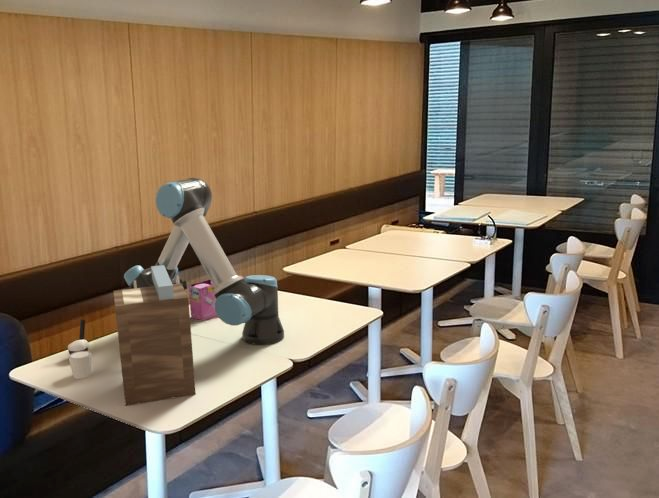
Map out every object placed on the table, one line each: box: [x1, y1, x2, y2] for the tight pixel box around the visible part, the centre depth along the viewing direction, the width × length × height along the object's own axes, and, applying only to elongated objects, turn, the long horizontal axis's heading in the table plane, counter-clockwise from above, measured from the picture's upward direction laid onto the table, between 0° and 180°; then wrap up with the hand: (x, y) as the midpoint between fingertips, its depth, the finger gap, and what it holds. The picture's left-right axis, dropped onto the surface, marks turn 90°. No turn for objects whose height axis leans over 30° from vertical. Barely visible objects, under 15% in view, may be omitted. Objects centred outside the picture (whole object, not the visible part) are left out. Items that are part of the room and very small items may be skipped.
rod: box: [150, 265, 174, 300], centre depth 197 cm, size 25×4×4 cm, turn 19°
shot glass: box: [68, 350, 93, 380], centre depth 209 cm, size 7×7×7 cm
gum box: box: [188, 274, 244, 322], centre depth 267 cm, size 24×8×14 cm, turn 137°
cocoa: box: [67, 319, 89, 355], centre depth 223 cm, size 10×6×12 cm, turn 148°
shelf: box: [113, 283, 197, 407], centre depth 195 cm, size 16×20×30 cm
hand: (157, 282), depth 213 cm, fingers open, 13 cm apart
